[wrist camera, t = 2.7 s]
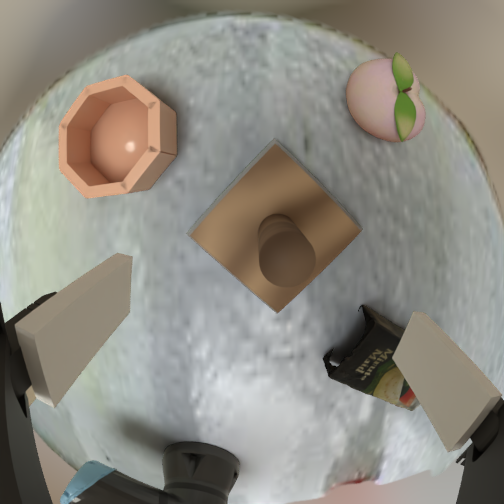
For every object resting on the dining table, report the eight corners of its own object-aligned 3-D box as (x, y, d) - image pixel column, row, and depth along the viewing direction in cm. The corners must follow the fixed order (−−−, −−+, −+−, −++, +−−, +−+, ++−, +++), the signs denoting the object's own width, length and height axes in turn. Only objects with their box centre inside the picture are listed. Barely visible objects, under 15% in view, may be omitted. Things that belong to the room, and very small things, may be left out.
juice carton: (441, 352, 37) (458, 372, 31) (403, 394, 40) (415, 417, 34) (362, 299, 35) (378, 321, 29) (317, 353, 37) (325, 381, 31)
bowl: (198, 131, 29) (186, 122, 24) (131, 212, 32) (108, 221, 26) (129, 75, 27) (107, 59, 22) (71, 152, 30) (43, 151, 24)
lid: (357, 229, 31) (404, 256, 20) (277, 308, 33) (285, 366, 22) (274, 144, 28) (285, 126, 18) (192, 233, 31) (159, 264, 20)
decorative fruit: (327, 73, 27) (354, 38, 18) (389, 75, 27) (429, 48, 17) (342, 149, 30) (377, 139, 20) (403, 146, 29) (451, 140, 20)
